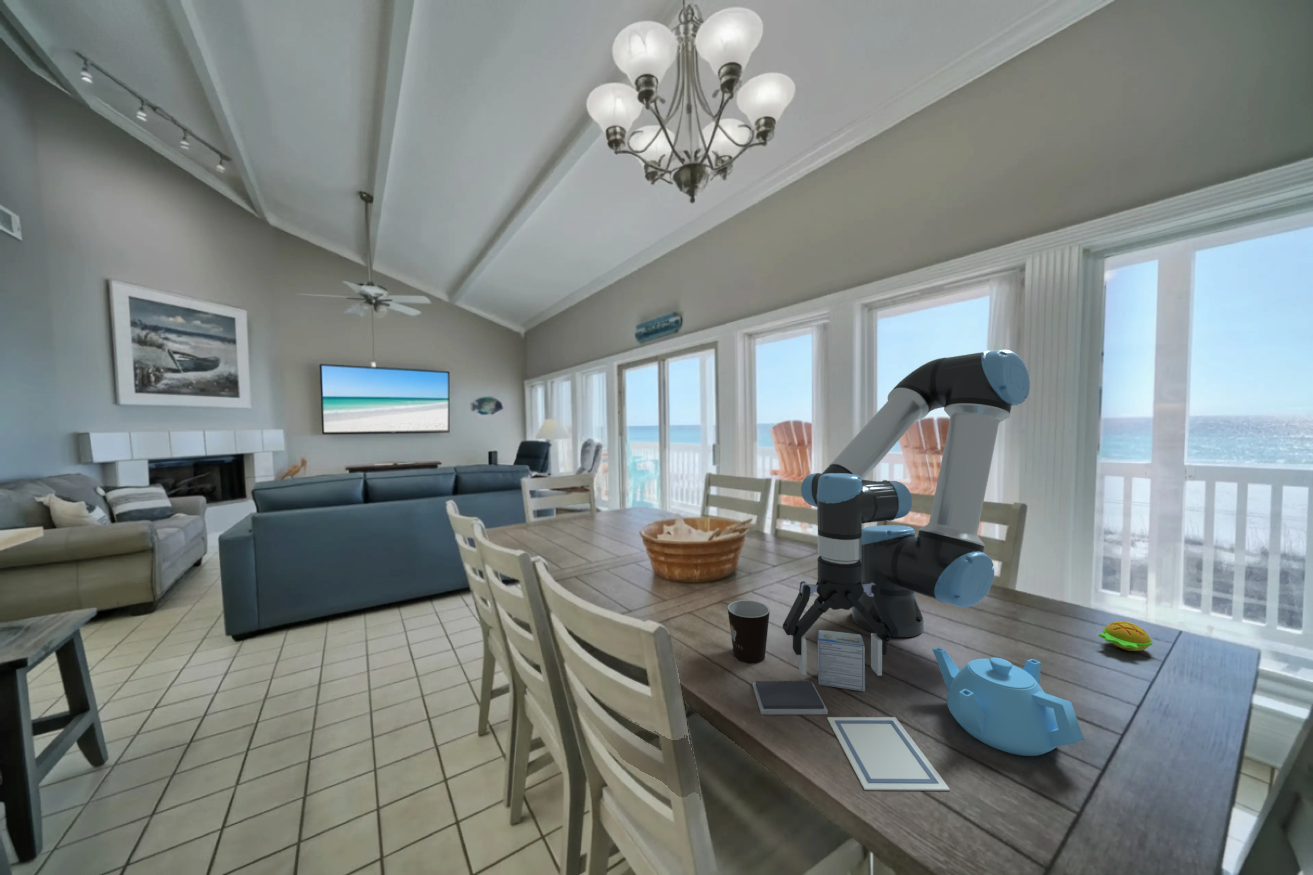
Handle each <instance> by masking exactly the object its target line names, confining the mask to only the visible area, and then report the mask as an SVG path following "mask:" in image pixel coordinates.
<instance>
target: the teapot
mask: <svg viewBox="0 0 1313 875" xmlns="http://www.w3.org/2000/svg"><path fill="white" fill-rule="evenodd" d="M932 652H933V654H934V657H935V660H936V662H937V665H938V667H939V670H940V673H941V675H942V678H943V681H944V683H945V686H946V688H947V691H948V692H947V696H946V697H947V700H946V704H947V708H948V709H949V712H950V714H951V715H952V716H953V718H954V720H955V721H956V722H957V723H958V724H959V725H960V726H961V728H962V729H963V730H965V732H967V733H968V734H969V735H971V736H972V737H973V738H975V739H977V740H978V741H980V742H982V743H983V744H985V745H987V746H989V747H991V748H994V749H996V750H998V751H1002V752H1005V753H1008V754H1012V755H1016V756H1017V755H1018V756H1022V757H1023V756H1024V757H1037V756H1042V755H1044V754H1047V753H1049V752H1051V751H1053V750H1054V749H1056V748H1057V747H1060V746H1061V747H1062V746H1065V745H1071V744H1076V743H1079V742H1081V741H1084V740H1085V738H1084V736H1083V732H1082V730H1081V726H1080V723H1079V721H1078V717H1077V715H1076V713H1075V709H1074V706H1073V704H1072V701H1070V700H1067V699H1063V698H1062V697H1061V698H1060V697H1057V696H1055V695H1053V694H1049V693H1046V692H1045V690H1043V688H1042V687H1041V685H1040V683H1041V669H1042V668H1041V666H1042V665H1041V664H1042V662H1040V661H1038V660H1037V659H1034V658H1030V659H1028V660H1025V661H1026V662H1025V663H1024V665H1023V667H1022V668H1021V667H1018V666H1016V665H1013V663H1011V662H1010V661H1009V660H1007V659H1004V658H1000V657H990V658H976V659H973V660H970V661H969V662H968V663H966V664H965V665H964V666H963V667H962V668H961V669H960V668H959V667H958V666H957V664H956V663H955V662H954V660H953V659H952V658H951V657H950V655H949V653H947V650H946V649H944V648H940V647H937V646H936V647H934V648H932Z"/></svg>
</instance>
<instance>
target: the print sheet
mask: <svg viewBox="0 0 1313 875" xmlns="http://www.w3.org/2000/svg"><path fill="white" fill-rule="evenodd" d="M826 718H827V721H828V724H829V725H830V727H831V729H832V730H833V732H834V735H835V736H836V738H837V740H838V742H839V744H840V746H841V748H842V750H843V752H844V754H845V755H846V757H847V759H848V761H849V763H850V765H851V767H852V769H853V771H854V772H855V774H856V776H857V778H858V780H859V783H860V784H861V786H862V788H863V789H864V791H939V792H940V791H942V792H943V791H946V792H947V791H949V792H950V791H951V789H950V787H949V786H948V785H947V783H946V782H945V781H944V779H943V778H942V776H941V775H940V773H938V771H937V770H936V769H935V767H934V766H933V765H932V763H931V762H930V761H929V759H928V758H927V757H926V755H924V753H923V751H922V750H921V749H920V748H919V747H918V745H917V744H916V742H915V741H914V739H912V737H911V736H910V735H909V733H908V731H906V730H905V728H904V727H903V725H902V723H900V721H899V719H897V717H895V716H892V717H891V716H881V717H880V716H878V717H877V716H876V717H875V716H870V717H867V716H866V717H865V716H857V717H856V716H855V717H854V716H852V717H851V716H848V717H847V716H845V717H844V716H840V717H839V716H837V717H836V716H835V717H834V716H832V717H831V716H828V717H826Z"/></svg>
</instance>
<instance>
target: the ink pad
mask: <svg viewBox="0 0 1313 875" xmlns="http://www.w3.org/2000/svg"><path fill="white" fill-rule="evenodd" d="M752 688H753V692H754V696H755V698H756V701H757V706H758V708H759V711H760V715H828V714H829V711H828V708H827V706H826V705H825V703H824V701H823V699H822V696H820V694H819V691H818V690H817V688H816V686H815V684H814V682H812V681H811V680H755V682H752Z"/></svg>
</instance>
